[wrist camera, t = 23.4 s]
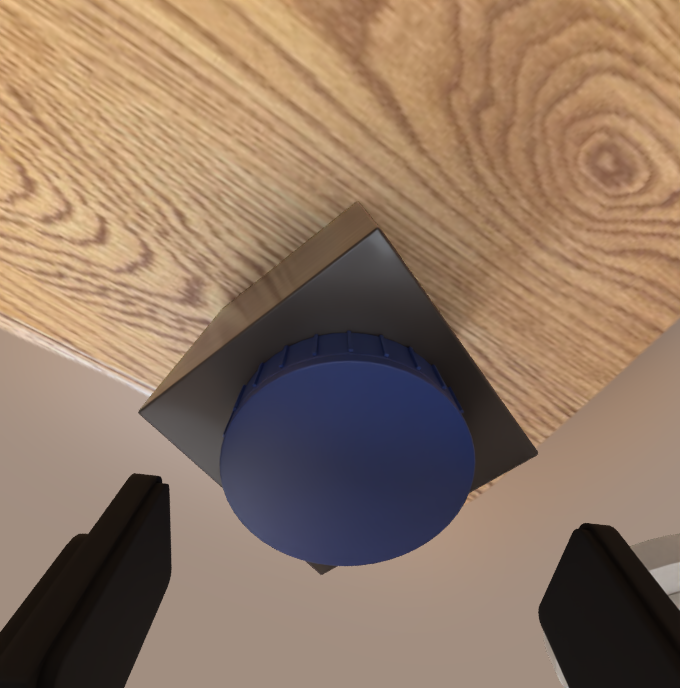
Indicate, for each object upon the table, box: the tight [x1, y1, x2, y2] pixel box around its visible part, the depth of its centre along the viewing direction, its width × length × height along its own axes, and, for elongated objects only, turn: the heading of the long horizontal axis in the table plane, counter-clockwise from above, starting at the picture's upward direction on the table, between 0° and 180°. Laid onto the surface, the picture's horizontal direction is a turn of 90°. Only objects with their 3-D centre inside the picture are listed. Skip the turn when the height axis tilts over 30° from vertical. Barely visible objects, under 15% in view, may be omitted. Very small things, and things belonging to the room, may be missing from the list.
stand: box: [138, 201, 538, 575], centre depth 17 cm, size 9×9×10 cm
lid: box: [220, 331, 475, 566], centre depth 12 cm, size 7×7×2 cm
